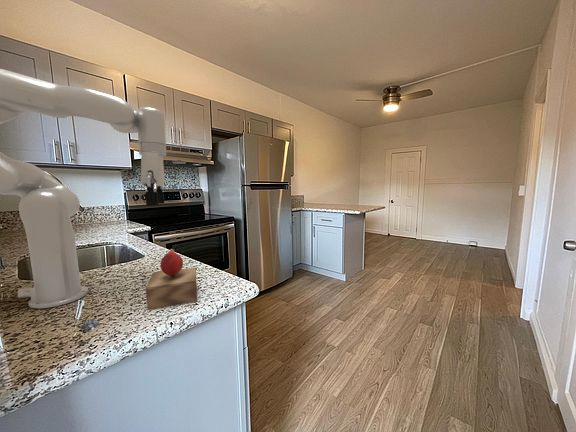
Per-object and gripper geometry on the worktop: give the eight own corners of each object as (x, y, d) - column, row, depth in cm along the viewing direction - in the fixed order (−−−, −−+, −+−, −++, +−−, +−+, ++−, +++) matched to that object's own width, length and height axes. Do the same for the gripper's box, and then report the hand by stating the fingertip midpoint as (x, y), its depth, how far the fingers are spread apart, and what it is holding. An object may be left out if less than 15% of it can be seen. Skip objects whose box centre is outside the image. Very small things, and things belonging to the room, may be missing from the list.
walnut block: (147, 309, 64) (145, 287, 63) (154, 291, 75) (153, 272, 74) (196, 301, 68) (195, 280, 67) (196, 285, 79) (195, 267, 78)
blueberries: (66, 344, 51) (65, 336, 51) (68, 325, 57) (67, 317, 57) (106, 332, 56) (105, 324, 55) (103, 315, 62) (103, 308, 61)
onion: (175, 281, 67) (172, 252, 66) (156, 279, 68) (154, 251, 67) (187, 273, 73) (186, 247, 72) (170, 272, 74) (168, 246, 73)
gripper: (146, 153, 84) (149, 202, 86) (130, 145, 68) (134, 206, 70) (170, 154, 87) (172, 202, 89) (160, 146, 70) (163, 206, 72)
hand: (155, 204), depth 79 cm, fingers open, 9 cm apart
